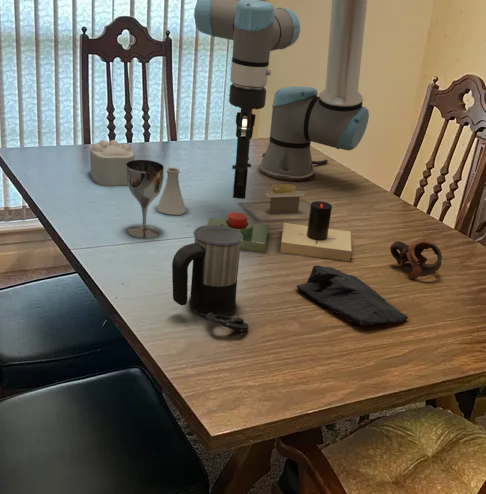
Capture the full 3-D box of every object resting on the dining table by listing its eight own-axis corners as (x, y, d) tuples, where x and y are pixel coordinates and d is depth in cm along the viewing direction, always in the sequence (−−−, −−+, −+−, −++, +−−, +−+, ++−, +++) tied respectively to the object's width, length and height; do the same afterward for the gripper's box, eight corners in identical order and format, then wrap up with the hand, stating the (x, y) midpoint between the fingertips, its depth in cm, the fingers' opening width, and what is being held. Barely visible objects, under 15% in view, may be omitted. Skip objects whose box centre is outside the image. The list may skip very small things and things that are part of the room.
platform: (241, 203, 196) (243, 178, 193) (304, 201, 203) (307, 177, 200) (258, 221, 188) (260, 195, 184) (323, 218, 195) (327, 193, 191)
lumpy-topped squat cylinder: (97, 186, 194) (96, 151, 189) (86, 169, 204) (84, 135, 199) (137, 184, 199) (138, 151, 194) (124, 168, 208) (124, 135, 203)
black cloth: (353, 336, 145) (357, 314, 143) (290, 287, 160) (293, 266, 157) (413, 322, 153) (418, 301, 150) (349, 277, 167) (352, 256, 165)
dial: (307, 231, 180) (311, 198, 175) (327, 233, 180) (332, 201, 175) (306, 238, 176) (310, 205, 171) (327, 241, 176) (332, 208, 171)
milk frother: (208, 291, 154) (212, 220, 145) (274, 317, 148) (283, 244, 140) (163, 315, 143) (165, 240, 135) (233, 344, 137) (239, 268, 129)
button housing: (267, 234, 182) (269, 218, 179) (264, 252, 173) (266, 235, 170) (208, 226, 181) (209, 210, 179) (202, 244, 172) (203, 227, 170)
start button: (247, 222, 177) (248, 213, 176) (245, 229, 173) (246, 220, 172) (228, 219, 177) (229, 211, 175) (226, 226, 173) (227, 218, 172)
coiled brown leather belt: (435, 267, 179) (450, 246, 171) (424, 297, 174) (439, 277, 167) (389, 245, 178) (401, 223, 171) (376, 275, 174) (389, 253, 166)
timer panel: (348, 241, 184) (350, 230, 183) (349, 261, 174) (351, 250, 173) (282, 232, 184) (284, 222, 182) (280, 252, 174) (281, 241, 172)
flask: (189, 207, 190) (191, 167, 184) (183, 217, 184) (184, 176, 178) (160, 203, 190) (161, 162, 184) (153, 213, 184) (154, 171, 178)
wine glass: (168, 231, 176) (170, 166, 168) (149, 241, 170) (150, 174, 161) (139, 222, 178) (140, 157, 170) (119, 232, 172) (118, 165, 164)
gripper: (265, 94, 153) (254, 209, 166) (267, 81, 163) (257, 189, 177) (227, 90, 152) (219, 205, 166) (232, 76, 163) (224, 185, 176)
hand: (239, 197), depth 171 cm, fingers closed
